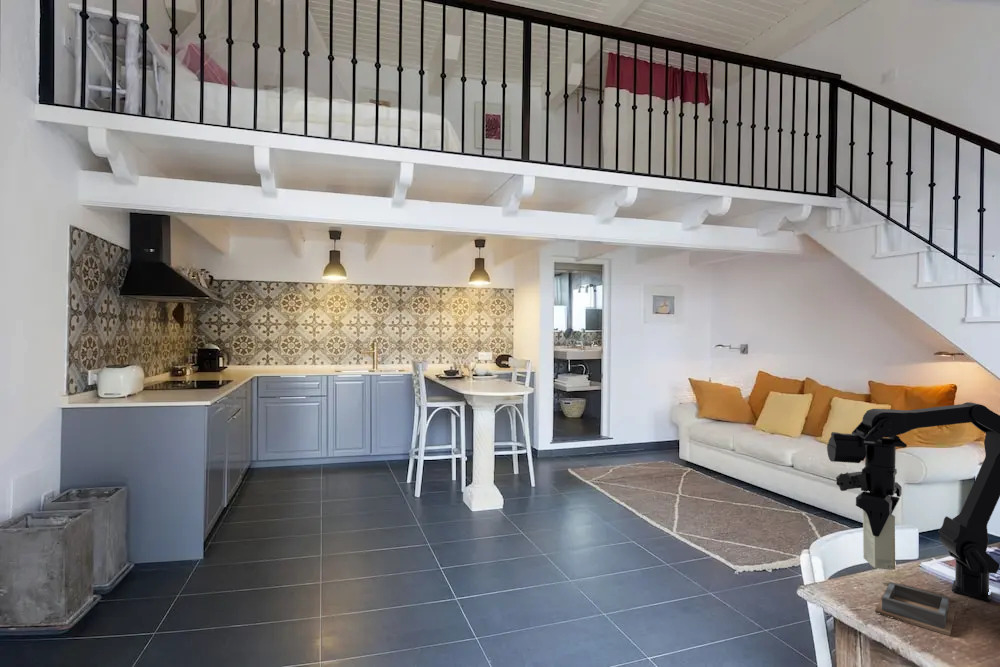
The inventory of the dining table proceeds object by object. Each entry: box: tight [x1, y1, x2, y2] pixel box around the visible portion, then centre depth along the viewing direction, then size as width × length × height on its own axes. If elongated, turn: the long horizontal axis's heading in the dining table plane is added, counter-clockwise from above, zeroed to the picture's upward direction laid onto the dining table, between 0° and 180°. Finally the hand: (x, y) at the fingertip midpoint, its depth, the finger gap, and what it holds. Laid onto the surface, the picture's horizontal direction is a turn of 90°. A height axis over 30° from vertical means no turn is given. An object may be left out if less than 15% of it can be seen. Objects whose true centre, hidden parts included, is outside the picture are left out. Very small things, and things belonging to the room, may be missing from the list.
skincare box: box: [862, 509, 896, 570], centre depth 126 cm, size 6×4×12 cm
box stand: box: [874, 581, 956, 637], centre depth 113 cm, size 12×12×3 cm
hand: (878, 531), depth 126 cm, fingers closed on skincare box, 7 cm apart
